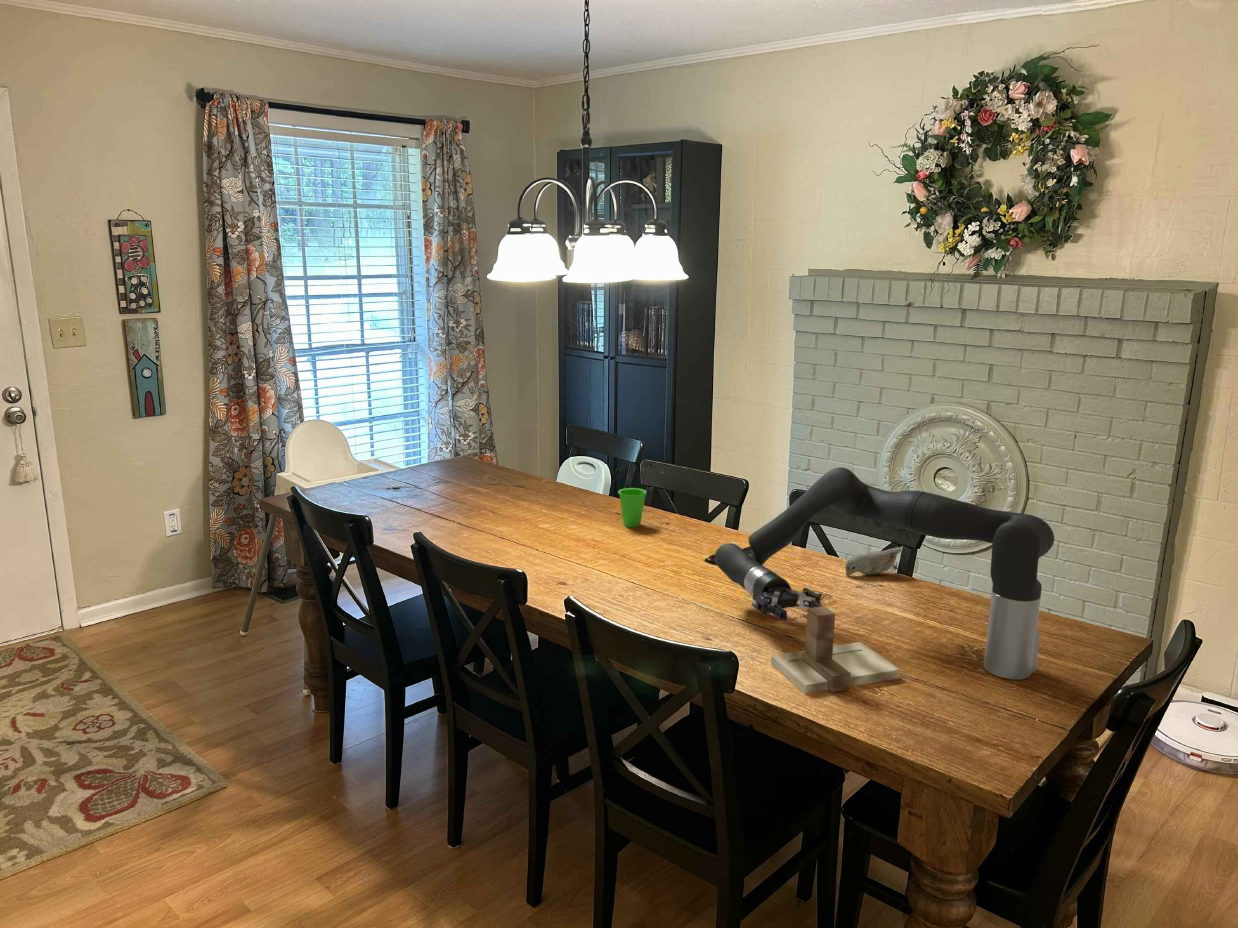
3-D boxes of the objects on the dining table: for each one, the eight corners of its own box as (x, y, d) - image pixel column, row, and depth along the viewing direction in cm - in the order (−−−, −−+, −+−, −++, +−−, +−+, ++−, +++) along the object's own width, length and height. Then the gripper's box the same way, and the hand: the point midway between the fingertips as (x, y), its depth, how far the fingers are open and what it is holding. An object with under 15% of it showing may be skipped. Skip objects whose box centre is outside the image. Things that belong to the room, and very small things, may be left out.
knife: (762, 544, 272) (762, 540, 272) (778, 550, 267) (778, 545, 267) (699, 560, 258) (699, 556, 257) (714, 567, 253) (715, 562, 252)
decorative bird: (841, 573, 248) (842, 547, 246) (895, 570, 251) (897, 544, 249) (849, 580, 243) (851, 553, 241) (905, 576, 246) (907, 550, 244)
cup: (652, 525, 289) (652, 491, 286) (632, 531, 282) (633, 497, 280) (631, 519, 295) (631, 486, 292) (611, 525, 288) (612, 491, 286)
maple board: (859, 650, 200) (860, 641, 200) (898, 678, 187) (899, 669, 187) (770, 664, 193) (771, 655, 192) (805, 694, 180) (805, 684, 180)
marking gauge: (816, 662, 193) (820, 602, 190) (849, 688, 181) (854, 626, 178) (799, 664, 191) (803, 605, 188) (832, 691, 180) (836, 628, 177)
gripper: (739, 574, 204) (774, 601, 189) (795, 568, 209) (833, 593, 194) (737, 605, 206) (772, 634, 191) (793, 598, 210) (831, 626, 196)
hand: (803, 613), depth 192 cm, fingers open, 8 cm apart
